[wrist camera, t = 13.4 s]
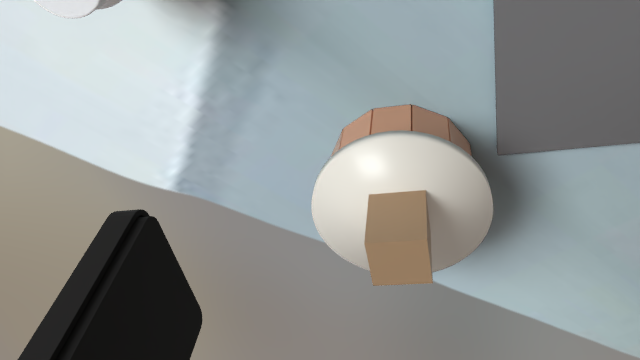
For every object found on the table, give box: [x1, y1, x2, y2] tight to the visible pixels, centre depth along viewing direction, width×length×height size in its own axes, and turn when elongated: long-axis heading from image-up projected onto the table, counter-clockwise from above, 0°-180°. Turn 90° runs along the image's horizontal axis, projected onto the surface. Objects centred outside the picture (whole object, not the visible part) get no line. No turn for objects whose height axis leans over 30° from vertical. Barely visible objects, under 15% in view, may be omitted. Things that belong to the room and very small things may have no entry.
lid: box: [312, 130, 493, 286], centre depth 40 cm, size 13×13×6 cm
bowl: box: [331, 105, 472, 157], centre depth 44 cm, size 11×11×5 cm
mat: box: [494, 0, 640, 155], centre depth 38 cm, size 15×15×1 cm
